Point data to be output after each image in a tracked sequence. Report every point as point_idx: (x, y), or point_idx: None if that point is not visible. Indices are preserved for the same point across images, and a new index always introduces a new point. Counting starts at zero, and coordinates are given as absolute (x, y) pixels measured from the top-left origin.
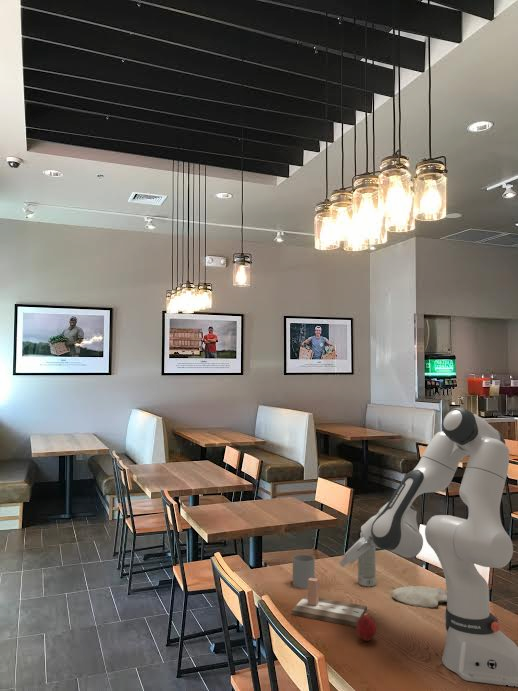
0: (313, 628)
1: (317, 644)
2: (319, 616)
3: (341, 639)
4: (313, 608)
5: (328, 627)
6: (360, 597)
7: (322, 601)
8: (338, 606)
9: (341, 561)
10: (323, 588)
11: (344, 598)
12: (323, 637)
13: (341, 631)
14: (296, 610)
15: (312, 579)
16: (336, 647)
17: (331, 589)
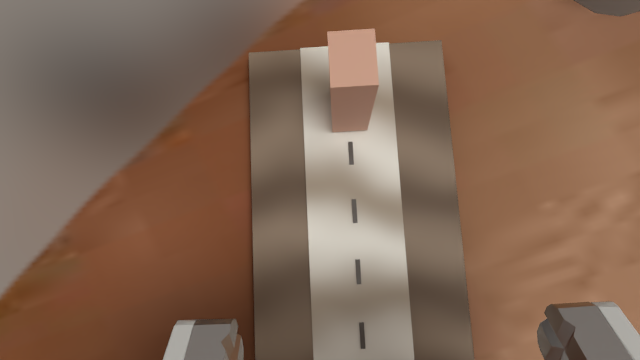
0: (164, 193)
1: (31, 262)
2: (253, 182)
3: (112, 339)
4: (304, 131)
5: (200, 247)
6: (618, 273)
7: (412, 135)
8: (386, 229)
9: (168, 354)
10: (622, 65)
11: (556, 202)
12: (100, 262)
13: (186, 313)
14: (252, 71)
15: (349, 54)
16: (34, 343)
17: (633, 104)
